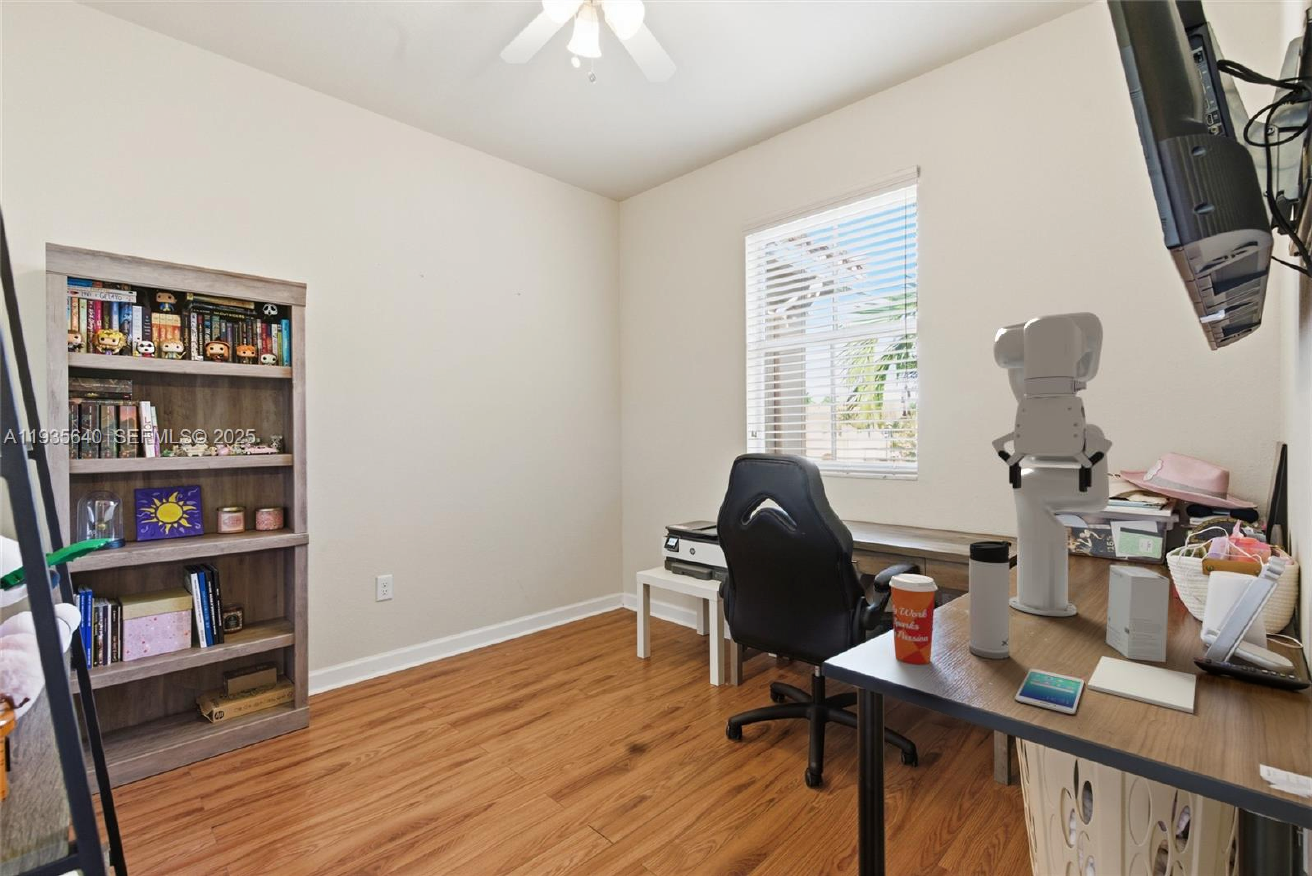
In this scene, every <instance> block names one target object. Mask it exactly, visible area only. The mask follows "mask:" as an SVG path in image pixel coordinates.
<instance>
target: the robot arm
mask: <svg viewBox="0 0 1312 876" xmlns="http://www.w3.org/2000/svg"><path fill="white" fill-rule="evenodd" d="M1103 334H1104V329H1103V325H1102V322H1101V320H1100V318H1099V317H1098V316H1097V315H1096V313H1095V314H1094V313H1092V312H1089V311H1085V312H1084V311H1083V312H1072V313H1071V312H1070V313H1060V314H1058V313H1057V314H1050V315H1048V314H1047V315H1041V316H1040V315H1039V316H1036V317H1034V318H1032V319H1030V320H1029V321H1025V322H1023V323H1022V322H1021V323H1018V324H1012V325H1007V326H1002V327H1001V328H1000V329H999V330H998V331H997V334H996V335H995V338H994V341H993V357H994V361H995V362H996V364H997V366H998V367H1000V368H1002V369H1006V370H1007V375H1008V382H1009V385H1010V389H1011V391H1012V394H1013V395H1014V398H1015V400H1016V402H1017V407H1016V408H1017V409H1016V413H1015V420H1014V421H1015V422H1014V430H1013V431H1012V432H1009V433H1007V434H1005V435H1003V436H1001V437H999V438H997V439H994V440H992V442H991V445H992V446H993V448H994V450H995V451H996V453H997V455H998V457H999V458H1001V460H1003V462H1005V463H1006V465H1007V466H1008V467H1009V468H1008V483H1009V484H1010V485H1012V491H1013V495H1014V496H1013V497H1014V503H1015V509H1016V511H1015V512H1016V523H1017V524H1016V525H1017V526H1016V533H1017V534H1016V538H1017V541H1016V542H1017V545H1016V547H1017V549H1016V550H1017V551H1016V553H1017V554H1016V555H1017V556H1016V557H1017V558H1016V560H1017V561H1016V564H1017V565H1016V575H1017V576H1016V579H1017V580H1016V588H1017V589H1016V596H1013V597H1009V607H1010V606H1011V607H1012V608H1013V609H1016V610H1018V611H1021V612H1025V613H1029V614H1033V615H1039V616H1040V615H1041V616H1047V617H1071V616H1075V615H1076V614H1077V606H1075V605H1074V604H1072V603H1069V594H1068V592H1069V533H1068V530H1067V527H1066V526H1065V525H1064V524H1063V522H1062V521H1061V520H1060V518H1058V517H1057V516H1056V515H1055V514H1054V512H1071V513H1072V512H1073V513H1074V512H1075V513H1100V512H1103V511H1104V510H1105V509H1106V508H1107V507H1108V505H1109V501H1110V480H1109V466H1108V453H1109V451H1110V449H1111V448H1112V446H1113V441H1111V440H1109V439H1107V438H1106V437H1105V436H1106V435H1105V433H1104V431H1103V429H1102V428H1101V427H1099V426H1098V425H1096V424H1094V423H1089V422H1086V410H1085V405H1084V402H1083V398H1082V397H1081V396H1077V395H1078V392H1080V391H1083V390H1087V383H1088V382H1090V381H1092V380H1093V379H1095V378H1096V376H1097V374H1098V372H1099V367H1100V360H1101V354H1102V353H1101V352H1102V347H1103V338H1104V335H1103ZM1012 441H1013V450H1014V453H1013V454H1012V455H1011V454H1010V453H1009V452H1008V451H1007V450H1006V449H1005V445H1006V444H1008V443H1010V442H1012ZM1022 460H1024V461H1025V462H1027V463H1030V464H1034V465H1041V466H1036V467H1035V466H1034V467H1033V466H1032V467H1026V468H1022V466H1021V465H1020V462H1021V461H1022ZM1042 465H1046V466H1043V467H1042ZM1052 465H1053V466H1052ZM1050 466H1052V467H1050ZM1055 466H1076V468H1075V467H1074V468H1073V467H1072V468H1071V467H1055Z"/></svg>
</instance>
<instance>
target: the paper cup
mask: <svg viewBox="0 0 1312 876" xmlns="http://www.w3.org/2000/svg"><path fill="white" fill-rule="evenodd" d="M888 584H889V586H890V591H891V592H890V593H891V606H892V607H891V609H892V625H893V628H892V629H893V642H894V652H895V653H894V654H895V659H897V660H898V661H900V662H902V663H906V664H908V665H909V664H911V665H919V666H921V665H926V664H929V663H930V661H931V658H932V657H931V655H932V643H933V629H934V612H935V598H936V597H935V595H936V591H938V586H937V585H936V583H935V581H934V579H933V578H932V577H931V576H925V575H923V574H921V575H920V574H914V573H911V574H910V573H899V574H896V575H892V576H891V579H890V581H889V583H888Z"/></svg>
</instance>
